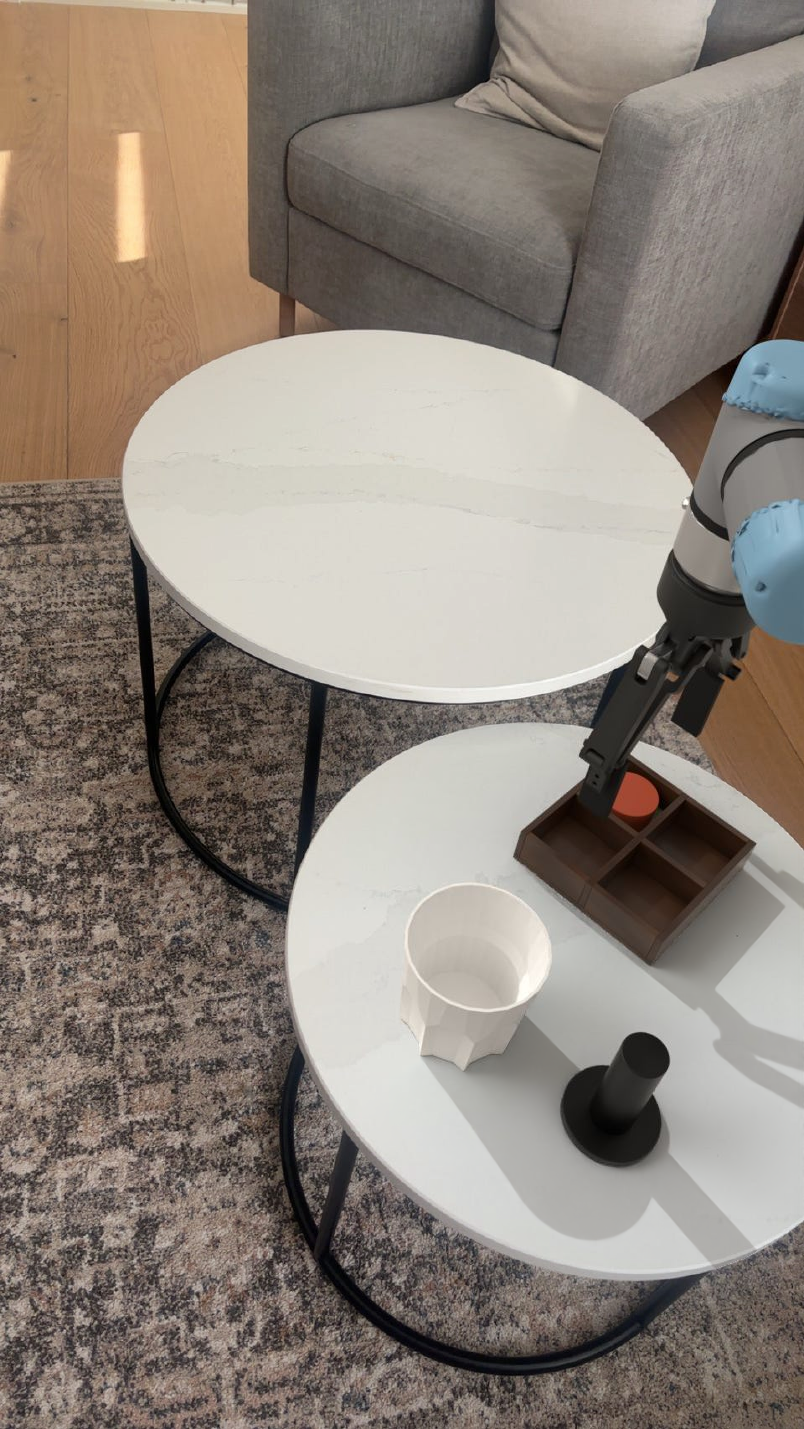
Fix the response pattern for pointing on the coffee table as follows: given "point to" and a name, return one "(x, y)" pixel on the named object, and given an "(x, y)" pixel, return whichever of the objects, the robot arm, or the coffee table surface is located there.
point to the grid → (636, 863)
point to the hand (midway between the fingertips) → (641, 766)
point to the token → (636, 802)
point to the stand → (617, 1103)
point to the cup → (471, 970)
